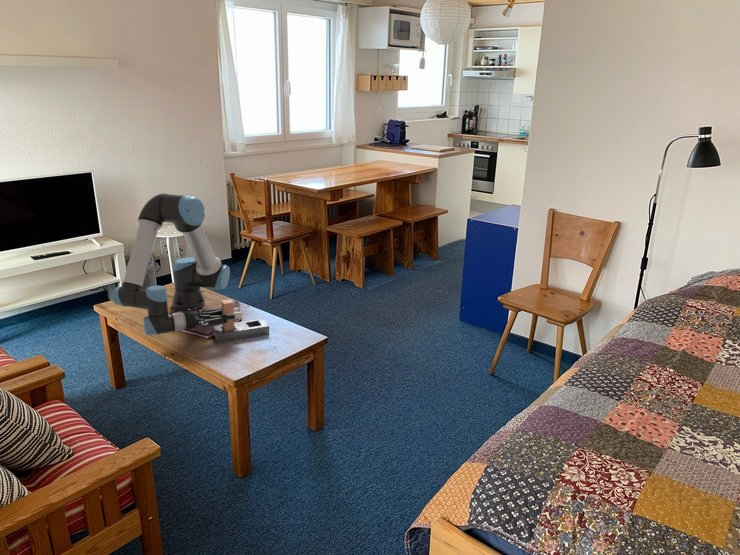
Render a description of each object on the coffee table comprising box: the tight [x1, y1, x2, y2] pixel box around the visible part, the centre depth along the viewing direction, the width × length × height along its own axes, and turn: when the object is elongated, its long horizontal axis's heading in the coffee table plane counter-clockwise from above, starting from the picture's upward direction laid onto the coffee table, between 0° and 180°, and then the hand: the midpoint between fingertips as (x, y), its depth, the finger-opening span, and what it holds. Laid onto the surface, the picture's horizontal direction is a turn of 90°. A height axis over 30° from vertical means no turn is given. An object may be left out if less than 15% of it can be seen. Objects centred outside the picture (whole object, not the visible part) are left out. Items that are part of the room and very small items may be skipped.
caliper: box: [233, 299, 241, 312], centre depth 261 cm, size 20×1×6 cm, turn 152°
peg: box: [220, 299, 235, 331], centre depth 240 cm, size 4×4×14 cm
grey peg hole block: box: [212, 318, 270, 344], centre depth 245 cm, size 9×22×4 cm, turn 118°
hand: (240, 312), depth 242 cm, fingers closed on peg, 4 cm apart
